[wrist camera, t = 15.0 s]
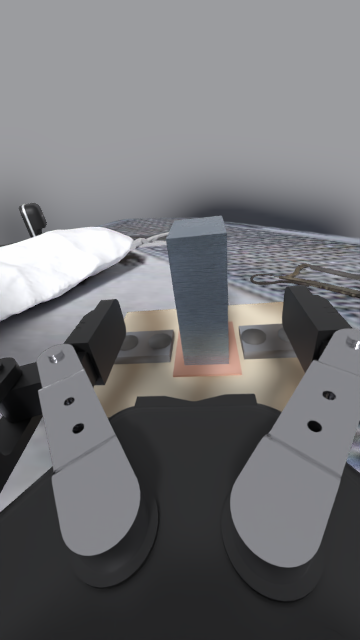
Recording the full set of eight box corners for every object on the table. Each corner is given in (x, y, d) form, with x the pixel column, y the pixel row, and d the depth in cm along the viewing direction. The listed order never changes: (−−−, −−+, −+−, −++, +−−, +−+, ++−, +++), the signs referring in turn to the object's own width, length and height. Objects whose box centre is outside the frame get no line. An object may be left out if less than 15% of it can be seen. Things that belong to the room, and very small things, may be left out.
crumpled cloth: (-85, 297, 43) (-130, 246, 37) (109, 243, 57) (99, 200, 51) (-114, 395, 27) (-198, 335, 21) (161, 288, 41) (156, 234, 36)
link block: (184, 365, 20) (166, 238, 15) (188, 329, 24) (174, 220, 19) (229, 364, 19) (226, 232, 14) (224, 327, 24) (221, 215, 18)
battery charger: (56, 254, 60) (36, 203, 54) (39, 258, 59) (17, 206, 53) (57, 248, 66) (39, 200, 60) (42, 251, 65) (21, 203, 59)
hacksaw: (518, 315, 23) (528, 301, 22) (488, 368, 19) (499, 353, 18) (288, 261, 41) (289, 252, 40) (244, 282, 36) (244, 272, 35)
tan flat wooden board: (83, 430, 18) (71, 407, 17) (130, 322, 30) (125, 304, 28) (353, 429, 16) (364, 403, 14) (288, 313, 27) (291, 292, 26)
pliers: (188, 234, 57) (124, 249, 52) (188, 241, 58) (126, 257, 53) (170, 228, 65) (114, 240, 60) (171, 234, 66) (116, 247, 61)
